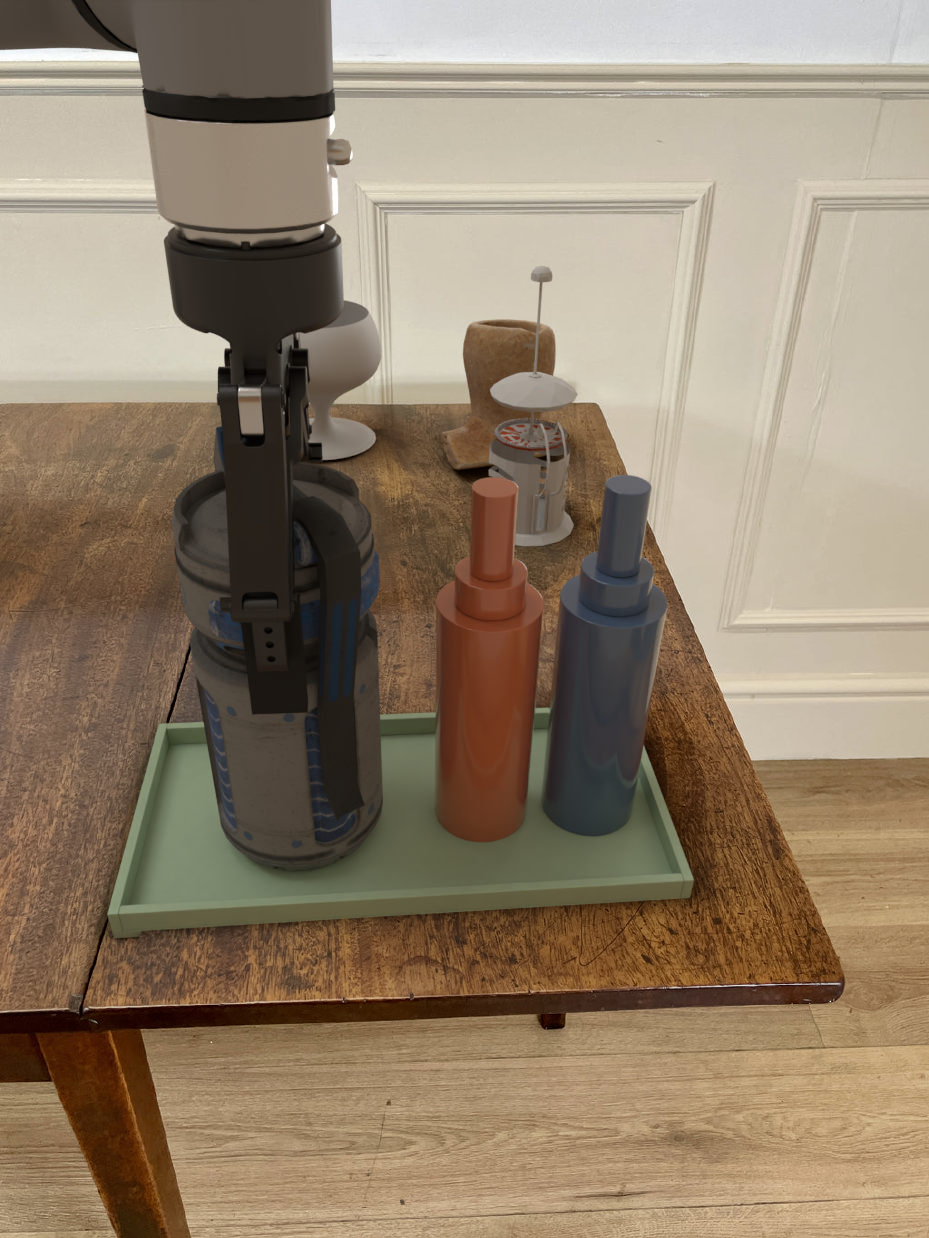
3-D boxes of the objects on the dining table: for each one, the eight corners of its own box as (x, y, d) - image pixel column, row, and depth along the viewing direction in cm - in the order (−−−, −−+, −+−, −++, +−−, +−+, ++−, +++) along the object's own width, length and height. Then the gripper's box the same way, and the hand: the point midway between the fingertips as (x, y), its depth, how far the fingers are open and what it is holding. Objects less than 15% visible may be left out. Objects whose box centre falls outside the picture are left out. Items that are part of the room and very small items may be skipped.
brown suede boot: (529, 425, 116) (537, 301, 108) (579, 462, 108) (592, 331, 99) (416, 443, 111) (415, 315, 103) (459, 484, 102) (462, 347, 94)
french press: (551, 495, 100) (572, 250, 86) (597, 547, 91) (628, 282, 77) (464, 506, 98) (470, 255, 84) (501, 561, 89) (515, 289, 75)
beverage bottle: (284, 938, 52) (233, 548, 38) (192, 797, 61) (124, 438, 47) (435, 860, 57) (438, 489, 43) (330, 740, 66) (305, 399, 52)
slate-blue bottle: (548, 839, 59) (583, 512, 46) (534, 772, 64) (561, 461, 51) (642, 834, 60) (702, 509, 47) (620, 768, 65) (669, 459, 52)
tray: (113, 938, 53) (106, 914, 52) (163, 746, 66) (158, 723, 65) (688, 903, 56) (694, 880, 55) (625, 726, 69) (628, 703, 68)
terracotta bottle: (437, 845, 58) (441, 515, 46) (431, 777, 63) (433, 463, 51) (533, 839, 59) (563, 512, 46) (519, 773, 64) (543, 461, 51)
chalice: (271, 472, 103) (257, 336, 95) (257, 424, 115) (244, 298, 106) (395, 460, 107) (393, 328, 99) (370, 414, 118) (366, 292, 110)
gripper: (334, 311, 30) (356, 786, 42) (344, 174, 51) (357, 521, 63) (95, 309, 30) (185, 793, 42) (202, 172, 50) (242, 523, 62)
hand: (288, 630), depth 52 cm, fingers open, 13 cm apart
